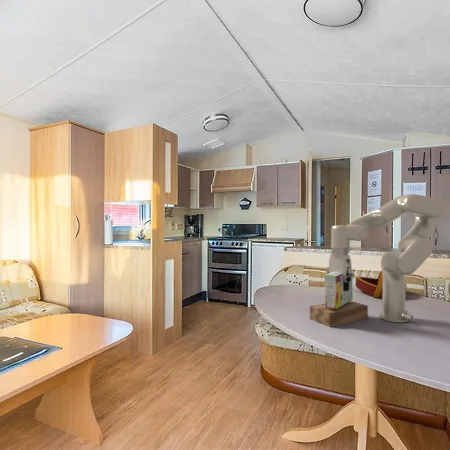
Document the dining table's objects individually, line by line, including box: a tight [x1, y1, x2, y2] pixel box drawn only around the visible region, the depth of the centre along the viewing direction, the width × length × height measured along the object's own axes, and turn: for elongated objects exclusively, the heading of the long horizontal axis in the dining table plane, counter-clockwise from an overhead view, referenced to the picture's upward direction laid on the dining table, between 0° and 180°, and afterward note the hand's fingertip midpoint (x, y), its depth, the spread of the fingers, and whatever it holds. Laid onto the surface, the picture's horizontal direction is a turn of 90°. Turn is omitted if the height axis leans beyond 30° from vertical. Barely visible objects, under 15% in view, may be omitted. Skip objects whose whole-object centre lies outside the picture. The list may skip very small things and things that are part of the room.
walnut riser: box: [309, 300, 369, 328], centre depth 146 cm, size 12×25×6 cm, turn 118°
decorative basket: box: [355, 269, 407, 299], centre depth 197 cm, size 34×29×15 cm
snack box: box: [324, 272, 354, 309], centre depth 146 cm, size 21×6×15 cm, turn 139°
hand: (339, 288), depth 146 cm, fingers closed on snack box, 7 cm apart
